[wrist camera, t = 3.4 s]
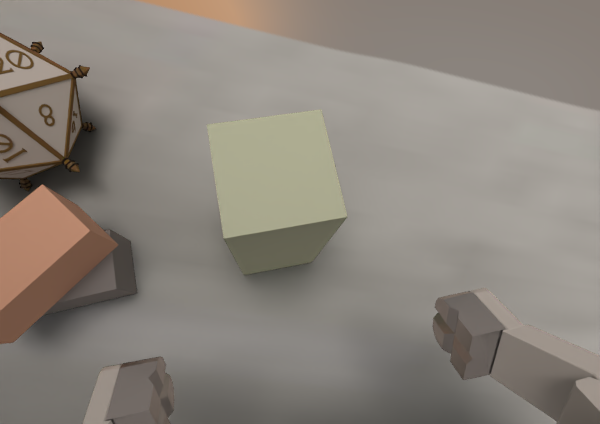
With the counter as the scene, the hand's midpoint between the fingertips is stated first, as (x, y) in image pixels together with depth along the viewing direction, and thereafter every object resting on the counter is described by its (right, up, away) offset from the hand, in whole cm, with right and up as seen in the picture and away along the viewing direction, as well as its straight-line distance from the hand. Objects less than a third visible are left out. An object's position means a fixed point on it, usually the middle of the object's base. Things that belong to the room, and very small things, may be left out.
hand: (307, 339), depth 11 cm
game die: (-16, +8, +12) cm, 21 cm away
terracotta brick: (-12, +1, +7) cm, 14 cm away
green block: (-2, +2, +11) cm, 11 cm away
